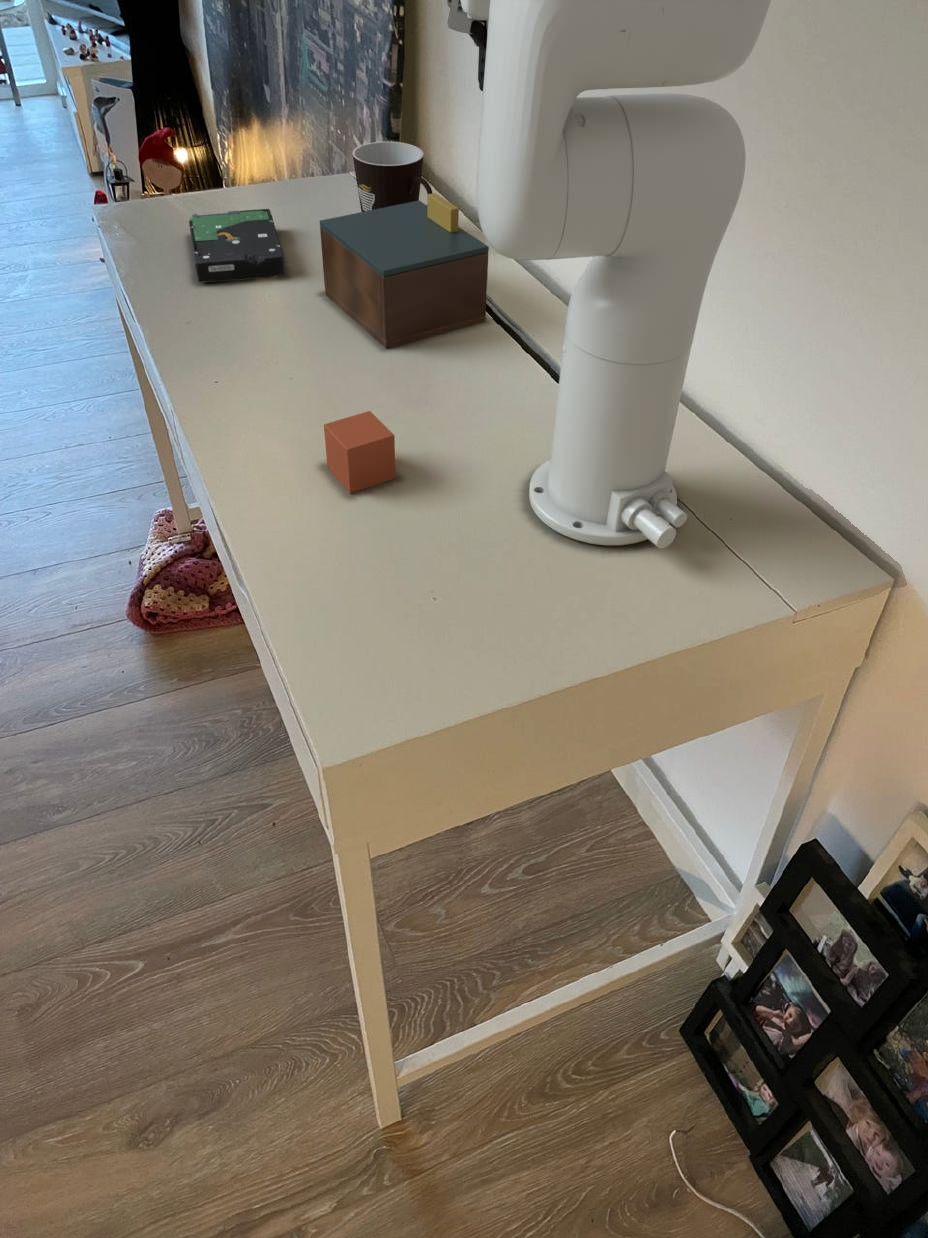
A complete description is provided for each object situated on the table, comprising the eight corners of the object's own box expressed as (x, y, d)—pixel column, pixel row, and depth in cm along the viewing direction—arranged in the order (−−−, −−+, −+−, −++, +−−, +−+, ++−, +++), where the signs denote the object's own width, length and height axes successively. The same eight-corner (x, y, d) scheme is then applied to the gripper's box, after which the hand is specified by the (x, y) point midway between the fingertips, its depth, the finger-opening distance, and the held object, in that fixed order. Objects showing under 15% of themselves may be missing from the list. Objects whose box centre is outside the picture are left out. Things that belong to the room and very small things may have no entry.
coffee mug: (349, 225, 123) (345, 143, 116) (413, 219, 125) (413, 139, 118) (370, 262, 115) (367, 177, 108) (438, 255, 117) (439, 171, 110)
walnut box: (485, 321, 105) (488, 252, 99) (386, 348, 100) (383, 277, 94) (419, 272, 113) (419, 205, 108) (325, 294, 108) (319, 226, 103)
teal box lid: (488, 251, 99) (490, 222, 97) (383, 276, 94) (382, 245, 92) (419, 205, 108) (419, 177, 106) (319, 225, 103) (317, 196, 101)
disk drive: (288, 278, 111) (272, 228, 121) (285, 255, 109) (269, 206, 119) (198, 286, 109) (189, 234, 119) (194, 263, 107) (185, 212, 117)
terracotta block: (396, 478, 83) (394, 435, 80) (350, 493, 81) (347, 449, 78) (371, 453, 86) (369, 410, 82) (327, 467, 84) (323, 424, 81)
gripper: (455, -127, 79) (450, 113, 91) (596, -134, 85) (573, 92, 97) (410, -138, 83) (412, 92, 96) (547, -144, 89) (532, 73, 102)
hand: (493, 91), depth 97 cm, fingers closed
